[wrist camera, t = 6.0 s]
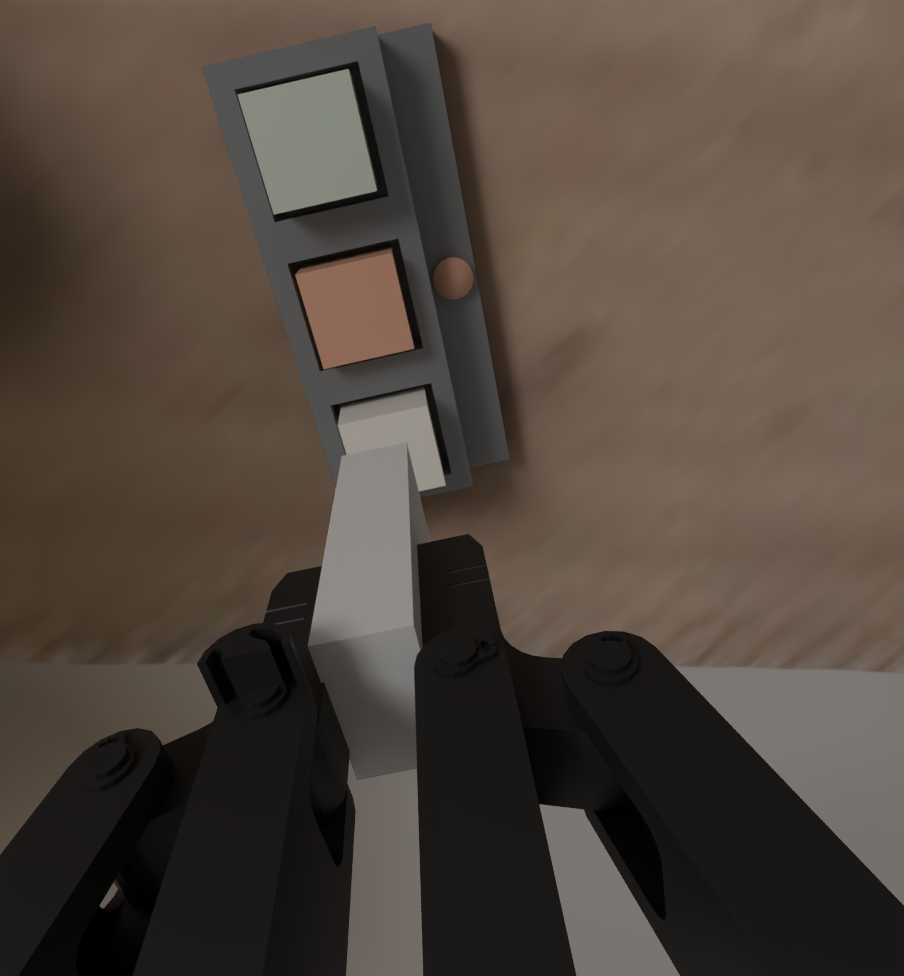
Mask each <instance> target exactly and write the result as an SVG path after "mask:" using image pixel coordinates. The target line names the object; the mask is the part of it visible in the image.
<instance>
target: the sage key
mask: <svg viewBox="0 0 904 976" xmlns="http://www.w3.org/2000/svg"><path fill="white" fill-rule="evenodd" d="M238 98H239V102H240V105H241V108H242V111H243V115H244V118H245V121H246V125H247V128H248V131H249V135H250V138H251V141H252V144H253V148H254V151H255V154H256V158H257V161H258V164H259V168H260V171H261V174H262V178H263V181H264V184H265V187H266V191H267V194H268V197H269V201H270V204H271V207H272V211H273V214H279V213H283V212H288V211H292V210H296V209H301V208H305V207H309V206H314V205H318V204H323V203H327V202H331V201H336V200H340V199H344V198H349V197H353V196H358V195H362V194H366V193H371V192H375V191H377V189H378V186H377V181H376V177H375V173H374V168H373V164H372V160H371V155H370V151H369V147H368V143H367V138H366V134H365V130H364V125H363V121H362V117H361V112H360V108H359V104H358V100H357V95H356V91H355V87H354V82H353V78H352V75H351V73H350V71H349V69H346V70H341V71H337V72H333V73H328V74H324V75H320V76H315V77H311V78H307V79H302V80H298V81H294V82H290V83H285V84H281V85H277V86H272V87H268V88H264V89H259V90H255V91H251V92H246V93H242V94H238Z"/></svg>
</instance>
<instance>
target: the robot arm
mask: <svg viewBox="0 0 904 976" xmlns="http://www.w3.org/2000/svg"><path fill="white" fill-rule="evenodd" d="M197 665H198V667H199V669H200V671H201V673H202V675H203V678H204V680H205V682H206V684H207V686H208V688H209V690H210V692H211V694H212V697H213V699H214V701H215V703H216V705H217V707H218V708H217V712H216V715H215V718H214V721H213V722H212V723H210V724H208V725H206V726H204V727H203V728H201V729H199V730H197V731H194V732H192V733H190V734H188V735H186V736H183V737H181V738H179V739H177V740H174V741H172V742H170V743H168V744H165V745H162V743H161V741H160V740H159V738H158V737H157V736H156V735H155V734H154V733H153V732H152V731H149V730H144V729H139V728H137V729H131V730H125V731H120V732H117V733H115V734H113V735H110V736H108V737H106V738H104V739H101V740H100V741H99V742H97V743H95V744H94V745H93V746H91V747H90V748H88V749H87V750H85V751H84V752H83V753H82V754H81V755H80V756H79V757H78V758H77V759H76V760H75V761H74V762H73V763H72V764H71V765H70V766H69V767H68V768H67V770H66V771H65V772H64V774H63V775H62V776H61V777H60V779H59V780H58V781H57V783H56V784H55V785H54V787H53V788H52V789H51V790H50V792H49V793H48V794H47V795H46V797H45V798H44V800H43V801H42V802H41V803H40V804H39V806H38V807H37V808H36V810H35V811H34V812H33V814H32V815H31V816H30V817H29V819H28V820H27V821H26V823H25V824H24V825H23V826H22V828H21V829H20V830H19V832H18V833H17V834H16V835H15V837H14V838H13V839H12V840H11V842H10V843H9V844H8V846H7V847H6V848H5V849H4V851H3V852H2V853H1V855H0V976H346V964H347V947H348V929H349V912H350V895H351V878H352V862H353V844H354V826H355V806H354V800H353V797H352V794H351V791H350V789H349V786H348V784H347V780H348V766H349V759H350V761H351V764H352V767H353V770H354V772H355V775H356V778H357V780H361V779H366V778H371V777H376V776H381V775H386V774H391V773H396V772H401V771H406V770H411V769H416V768H417V782H418V814H419V848H420V878H421V879H420V880H421V912H422V943H423V944H422V945H423V976H576V972H575V968H574V963H573V959H572V954H571V949H570V945H569V940H568V935H567V931H566V926H565V922H564V917H563V912H562V908H561V903H560V899H559V894H558V889H557V885H556V880H555V875H554V871H553V866H552V862H551V857H550V852H549V848H548V843H547V839H546V834H545V829H544V825H543V820H542V815H541V811H540V806H539V804H544V805H552V806H561V807H569V808H578V809H584V811H585V813H586V816H587V818H588V820H589V821H590V823H591V825H592V827H593V828H594V830H595V832H596V833H597V835H598V837H599V838H600V840H601V842H602V843H603V845H604V847H605V849H606V850H607V852H608V854H609V855H610V857H611V859H612V860H613V862H614V864H615V866H616V867H617V869H618V871H619V872H620V874H621V876H622V878H623V879H624V881H625V883H626V884H627V886H628V888H629V889H630V891H631V893H632V894H633V896H634V898H635V900H636V901H637V903H638V905H639V906H640V908H641V910H642V912H643V913H644V915H645V917H646V918H647V920H648V921H649V923H650V925H651V927H652V928H653V930H654V932H655V934H656V935H657V937H658V939H659V940H660V942H661V944H662V945H663V947H664V949H665V951H666V952H667V954H668V956H669V957H670V959H671V960H672V962H673V964H674V966H675V968H676V969H677V971H678V973H679V974H680V976H904V905H902V903H901V902H900V901H899V900H898V899H897V898H896V897H895V896H894V895H893V894H892V893H891V892H890V891H889V890H888V889H887V888H886V887H885V886H884V885H883V884H882V883H881V882H880V881H879V879H878V878H877V877H876V876H875V875H874V874H873V873H872V872H871V871H870V870H869V869H868V868H867V867H866V866H865V865H864V864H863V863H862V862H861V861H860V860H859V859H858V858H857V856H856V855H855V854H854V853H853V852H852V851H851V850H850V849H849V848H848V847H847V846H846V845H845V844H844V843H843V842H842V841H841V840H840V839H839V838H838V837H837V836H836V835H835V834H834V833H833V831H832V830H831V829H830V828H829V827H828V826H827V825H826V824H825V823H824V822H823V821H822V820H821V819H820V818H819V817H818V816H817V815H816V814H815V813H814V812H813V811H812V810H811V809H810V808H809V806H808V805H807V804H806V803H805V802H804V801H803V800H802V799H801V798H800V797H799V796H798V795H797V794H796V793H795V792H794V791H793V790H792V789H791V788H790V787H789V786H788V785H787V784H786V782H785V781H784V780H783V779H782V778H781V777H780V776H779V775H778V774H777V773H776V772H775V771H774V770H773V769H772V768H771V767H770V766H769V765H768V764H767V763H766V762H765V761H764V759H763V758H762V757H761V756H760V755H759V754H758V753H757V752H756V751H755V750H754V749H753V748H752V747H751V746H750V745H749V744H748V743H747V742H746V741H745V740H744V739H743V738H742V737H741V735H740V734H739V733H737V732H736V730H735V729H734V728H733V727H732V726H731V725H730V724H729V723H728V722H727V721H726V720H725V719H724V718H723V717H722V716H721V715H720V714H719V713H718V712H717V710H716V709H715V708H714V707H712V705H711V704H710V703H709V702H708V701H707V700H706V699H705V698H704V697H703V696H702V695H701V694H700V693H699V692H698V691H697V690H696V689H695V688H694V687H693V685H692V684H691V683H690V682H689V681H688V680H687V679H686V678H685V677H684V676H683V675H682V674H681V673H680V672H679V671H678V670H677V669H676V668H675V667H674V666H673V665H672V664H671V662H670V661H669V660H668V659H667V658H666V657H665V656H664V655H663V654H662V653H661V652H660V651H659V650H658V649H657V648H656V647H655V646H654V645H652V644H651V643H649V642H648V641H647V640H645V639H644V638H642V637H640V636H637V635H633V634H630V633H627V632H619V631H603V632H599V633H595V634H590V635H587V636H585V637H583V638H581V639H580V640H578V641H576V642H574V643H573V644H572V645H571V646H570V647H569V649H568V650H567V651H566V652H565V654H564V655H563V658H546V657H539V656H532V655H529V654H526V653H523V652H521V651H519V650H517V649H516V648H514V647H512V646H511V645H510V644H509V643H508V642H507V641H506V640H505V638H504V636H503V634H502V632H501V629H500V624H499V620H498V615H497V610H496V606H495V601H494V597H493V592H492V588H491V583H490V579H489V574H488V569H487V565H486V560H485V556H484V551H483V547H482V545H480V544H479V543H478V542H477V541H476V540H475V539H474V538H472V537H471V536H470V535H469V534H467V535H462V536H457V537H452V538H447V539H442V540H437V541H432V542H431V540H430V536H429V532H428V528H427V524H426V519H425V515H424V511H423V507H422V503H421V499H420V495H419V491H418V487H417V482H416V478H415V474H414V470H413V466H412V462H411V458H410V454H409V449H408V445H407V442H406V443H401V444H396V445H392V446H387V447H382V448H377V449H372V450H368V451H363V452H358V453H353V454H348V455H344V456H342V457H341V463H340V469H339V474H338V480H337V485H336V491H335V497H334V502H333V508H332V513H331V519H330V525H329V530H328V536H327V541H326V547H325V553H324V558H323V564H322V566H320V567H315V568H310V569H305V570H300V571H296V572H291V573H287V574H286V575H285V576H284V578H283V579H282V580H281V581H280V582H279V584H278V585H277V586H276V587H275V588H274V590H273V591H272V593H271V597H270V600H269V604H268V607H267V613H266V614H265V618H264V621H263V623H260V624H251V625H248V626H245V627H242V628H239V629H236V630H234V631H232V632H230V633H228V634H227V635H225V636H223V637H221V638H220V639H218V640H217V641H216V642H215V643H214V644H212V645H211V646H210V647H209V648H208V649H207V650H206V651H205V652H204V653H203V655H202V657H201V658H200V660H199V661H198V663H197ZM113 882H114V883H115V885H116V886H117V888H118V890H117V892H116V894H115V896H114V897H113V898H112V899H111V901H110V902H109V903H108V904H107V906H106V907H105V908H101V907H100V906H99V905H100V904H101V902H102V900H103V899H104V897H105V895H106V894H107V892H108V890H109V889H110V887H111V885H112V884H113Z"/></svg>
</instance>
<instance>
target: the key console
mask: <svg viewBox="0 0 904 976" xmlns="http://www.w3.org/2000/svg"><path fill="white" fill-rule="evenodd" d="M346 69H349V71H350V73H351V75H352V78H353V82H354V87H355V91H356V95H357V100H358V104H359V108H360V112H361V117H362V121H363V125H364V130H365V134H366V138H367V143H368V147H369V151H370V155H371V160H372V164H373V168H374V173H375V177H376V181H377V186H378V189H377V191H375V192H371V193H366V194H362V195H358V196H353V197H349V198H344V199H340V200H336V201H331V202H327V203H323V204H318V205H314V206H309V207H305V208H301V209H296V210H292V211H288V212H283V213H279V214H273V211H272V207H271V204H270V201H269V197H268V194H267V191H266V187H265V184H264V181H263V178H262V174H261V171H260V168H259V164H258V161H257V158H256V154H255V151H254V148H253V144H252V141H251V138H250V135H249V131H248V128H247V125H246V121H245V118H244V115H243V111H242V108H241V105H240V102H239V98H238V94H242V93H246V92H251V91H255V90H259V89H264V88H268V87H272V86H277V85H281V84H285V83H290V82H294V81H298V80H302V79H307V78H311V77H315V76H320V75H324V74H328V73H333V72H337V71H341V70H346ZM202 70H203V73H204V76H205V79H206V82H207V85H208V88H209V91H210V95H211V98H212V101H213V104H214V107H215V110H216V113H217V117H218V120H219V123H220V126H221V129H222V132H223V135H224V139H225V142H226V145H227V148H228V151H229V154H230V157H231V161H232V164H233V167H234V170H235V173H236V176H237V179H238V182H239V186H240V189H241V192H242V195H243V198H244V201H245V204H246V208H247V211H248V214H249V217H250V220H251V223H252V226H253V230H254V233H255V236H256V239H257V242H258V245H259V248H260V251H261V255H262V258H263V261H264V264H265V267H266V270H267V273H268V277H269V280H270V283H271V286H272V289H273V292H274V295H275V299H276V302H277V305H278V308H279V311H280V314H281V317H282V321H283V324H284V327H285V330H286V333H287V336H288V339H289V342H290V346H291V349H292V352H293V355H294V358H295V361H296V364H297V368H298V371H299V374H300V377H301V380H302V383H303V386H304V390H305V393H306V396H307V399H308V402H309V405H310V408H311V411H312V415H313V418H314V421H315V424H316V427H317V430H318V433H319V437H320V440H321V443H322V446H323V449H324V452H325V455H326V459H327V462H328V465H329V468H330V471H331V474H332V477H333V481H334V484H335V487H336V485H337V480H338V474H339V469H340V463H341V457H342V456H344V455H346V452H345V448H344V445H343V442H342V438H341V435H340V432H339V428H338V421H339V415H340V410H341V405H342V404H346V403H351V402H355V401H360V400H364V399H369V398H373V397H378V396H382V395H387V394H391V393H396V392H400V391H404V390H409V389H413V388H418V387H422V386H424V388H425V392H426V396H427V401H428V405H429V409H430V413H431V418H432V422H433V426H434V431H435V435H436V439H437V444H438V448H439V452H440V456H441V461H442V466H443V472H444V478H445V484H446V486H442V487H437V488H433V489H428V490H424V491H419V495H420V498H423V497H427V496H432V495H436V494H441V493H445V492H450V491H454V490H459V489H463V488H468V487H472V486H473V482H472V477H471V473H470V468H474V467H478V466H483V465H487V464H492V463H496V462H501V461H505V460H510V458H509V453H508V447H507V441H506V436H505V430H504V425H503V419H502V414H501V408H500V403H499V397H498V392H497V386H496V381H495V375H494V370H493V364H492V359H491V353H490V348H489V342H488V336H487V331H486V325H485V320H484V314H483V309H482V303H481V298H480V292H479V287H478V281H477V276H476V270H475V265H474V259H473V254H472V248H471V242H470V237H469V231H468V226H467V220H466V215H465V209H464V204H463V198H462V193H461V187H460V182H459V176H458V171H457V165H456V160H455V154H454V148H453V143H452V137H451V132H450V126H449V121H448V115H447V110H446V104H445V99H444V93H443V88H442V82H441V77H440V71H439V66H438V60H437V54H436V49H435V43H434V38H433V32H432V27H431V23H428V24H423V25H419V26H415V27H411V28H406V29H402V30H398V31H393V32H389V33H385V34H380V35H377V30H376V26H375V27H371V28H367V29H363V30H358V31H354V32H350V33H345V34H341V35H337V36H332V37H328V38H324V39H319V40H315V41H311V42H307V43H302V44H298V45H294V46H289V47H285V48H281V49H276V50H272V51H268V52H264V53H259V54H255V55H251V56H246V57H242V58H238V59H233V60H229V61H225V62H220V63H216V64H212V65H208V66H203V67H202ZM388 245H392V248H393V253H394V257H395V261H396V266H397V270H398V274H399V278H400V283H401V287H402V291H403V296H404V300H405V304H406V309H407V313H408V317H409V322H410V326H411V330H412V335H413V343H414V349H411V350H407V351H402V352H398V353H394V354H389V355H385V356H380V357H376V358H371V359H367V360H362V361H358V362H353V363H349V364H345V365H340V366H336V367H331V368H327V369H323V366H322V362H321V359H320V356H319V353H318V349H317V346H316V343H315V339H314V336H313V333H312V329H311V326H310V323H309V319H308V316H307V313H306V309H305V306H304V303H303V299H302V296H301V293H300V289H299V286H298V283H297V279H296V276H295V275H296V273H297V272H298V271H299V269H300V268H301V267H302V265H305V264H309V263H314V262H318V261H322V260H327V259H331V258H336V257H340V256H344V255H349V254H353V253H358V252H362V251H366V250H371V249H375V248H380V247H384V246H388Z"/></svg>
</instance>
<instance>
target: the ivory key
mask: <svg viewBox="0 0 904 976" xmlns="http://www.w3.org/2000/svg"><path fill="white" fill-rule="evenodd" d="M338 428H339V432H340V435H341V438H342V442H343V445H344V448H345V452H346V455H348V454H353V453H358V452H363V451H368V450H372V449H377V448H382V447H387V446H392V445H396V444H401V443H406V442H407V445H408V449H409V454H410V458H411V462H412V466H413V470H414V474H415V478H416V482H417V487H418V491H424V490H428V489H433V488H437V487H442V486H446V484H445V478H444V472H443V466H442V461H441V456H440V452H439V448H438V444H437V439H436V435H435V431H434V426H433V422H432V418H431V413H430V409H429V405H428V401H427V396H426V392H425V388H424V386H422V387H418V388H413V389H409V390H404V391H400V392H396V393H391V394H387V395H382V396H378V397H373V398H369V399H364V400H360V401H355V402H351V403H346V404H342V405H341V410H340V415H339V421H338Z"/></svg>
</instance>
